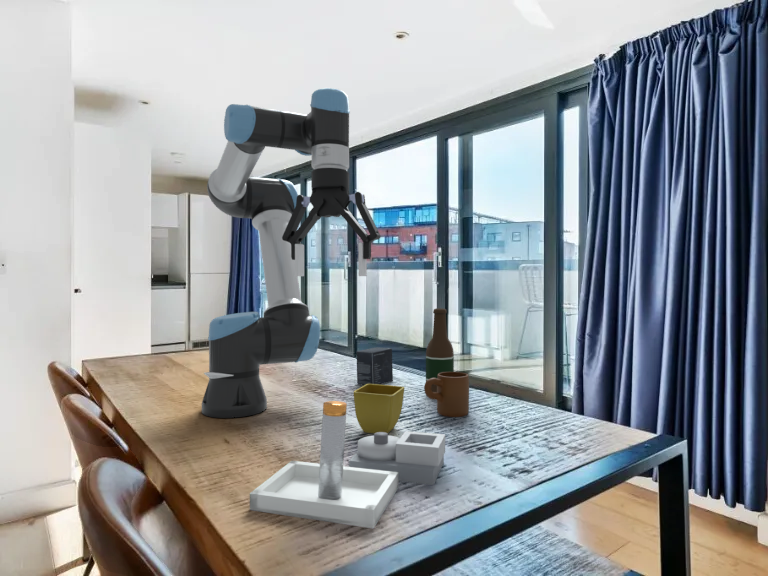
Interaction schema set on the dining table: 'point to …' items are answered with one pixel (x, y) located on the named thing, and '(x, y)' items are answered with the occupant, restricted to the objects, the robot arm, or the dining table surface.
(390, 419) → the flower pot
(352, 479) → the tray
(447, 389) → the mug
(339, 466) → the pin
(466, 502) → the dining table surface
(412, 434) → the tensioner block
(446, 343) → the beer bottle
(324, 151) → the robot arm
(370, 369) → the box
